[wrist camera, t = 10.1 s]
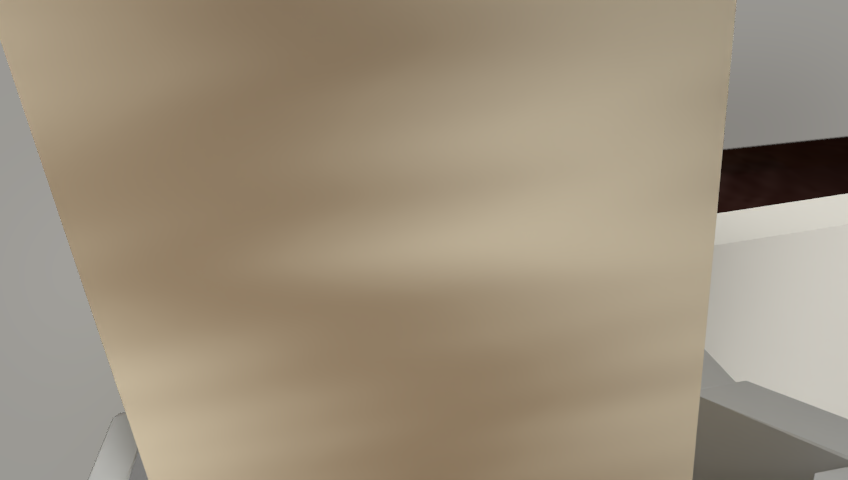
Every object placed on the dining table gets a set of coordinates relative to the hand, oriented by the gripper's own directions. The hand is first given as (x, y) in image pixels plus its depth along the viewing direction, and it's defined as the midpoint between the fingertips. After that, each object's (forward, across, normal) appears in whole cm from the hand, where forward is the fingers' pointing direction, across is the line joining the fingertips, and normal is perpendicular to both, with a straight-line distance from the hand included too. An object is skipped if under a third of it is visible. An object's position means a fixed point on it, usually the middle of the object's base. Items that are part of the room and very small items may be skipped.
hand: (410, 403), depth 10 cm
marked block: (-1, 0, +8) cm, 8 cm away
